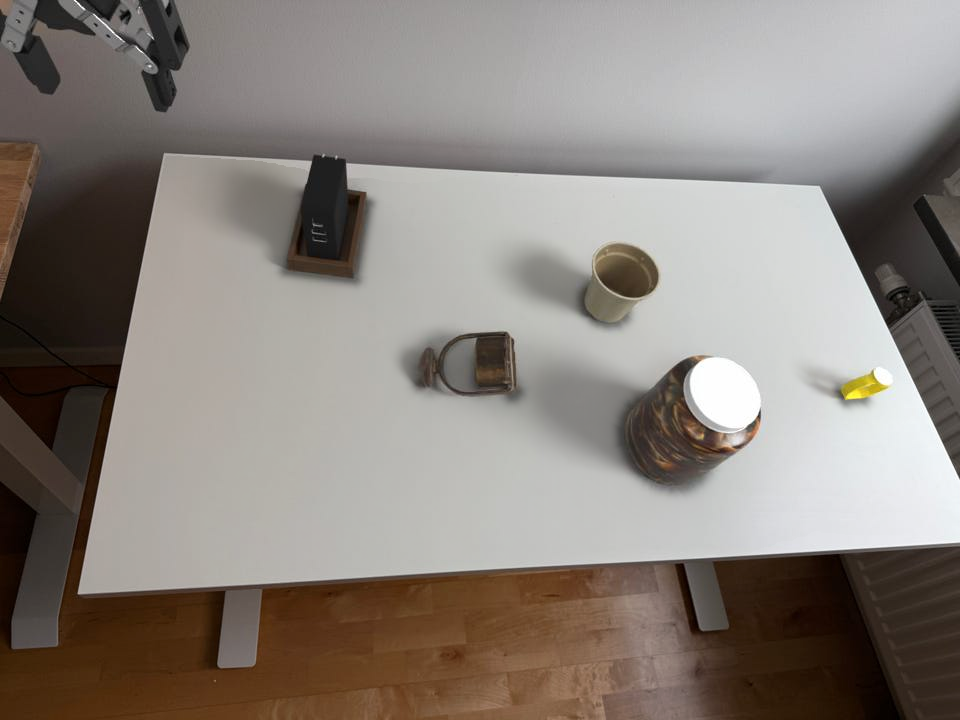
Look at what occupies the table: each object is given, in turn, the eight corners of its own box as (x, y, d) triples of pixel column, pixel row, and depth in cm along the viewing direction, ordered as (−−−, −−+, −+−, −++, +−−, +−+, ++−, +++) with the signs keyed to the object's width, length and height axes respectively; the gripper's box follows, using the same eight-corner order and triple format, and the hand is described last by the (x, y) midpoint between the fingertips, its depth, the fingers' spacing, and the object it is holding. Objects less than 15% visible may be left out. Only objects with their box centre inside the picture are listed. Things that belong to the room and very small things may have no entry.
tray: (288, 270, 81) (286, 258, 79) (307, 195, 88) (305, 182, 85) (353, 278, 82) (352, 267, 80) (366, 203, 89) (366, 191, 86)
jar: (727, 458, 78) (798, 412, 65) (661, 502, 73) (724, 462, 60) (669, 385, 82) (726, 328, 69) (604, 423, 77) (651, 370, 64)
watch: (838, 405, 85) (868, 387, 79) (829, 387, 86) (859, 368, 81) (873, 402, 86) (905, 383, 81) (865, 384, 87) (896, 365, 82)
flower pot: (647, 325, 86) (673, 291, 78) (589, 340, 83) (611, 305, 76) (618, 273, 90) (641, 235, 82) (563, 286, 87) (580, 248, 80)
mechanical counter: (514, 412, 70) (542, 337, 73) (413, 368, 69) (446, 295, 72) (501, 421, 77) (528, 352, 80) (409, 382, 76) (439, 314, 79)
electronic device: (307, 260, 82) (299, 209, 73) (319, 204, 86) (313, 151, 78) (338, 263, 82) (334, 213, 73) (349, 208, 87) (346, 155, 78)
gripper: (-176, -142, 32) (-7, 114, 46) (111, -88, 33) (189, 143, 47) (-103, -202, 35) (33, 52, 49) (153, -151, 37) (213, 81, 51)
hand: (109, 96), depth 48 cm, fingers open, 8 cm apart
